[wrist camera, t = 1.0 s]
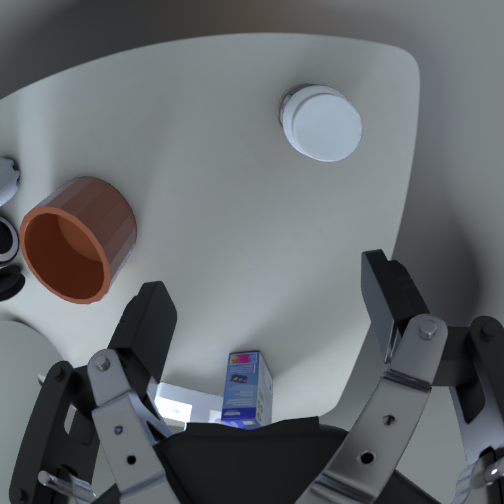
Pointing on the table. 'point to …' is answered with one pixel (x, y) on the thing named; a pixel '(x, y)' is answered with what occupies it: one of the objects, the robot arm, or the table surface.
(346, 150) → the pill bottle
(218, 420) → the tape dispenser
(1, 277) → the headphones
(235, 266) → the table surface
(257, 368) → the ink cartridge box
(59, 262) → the crock
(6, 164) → the bottle
